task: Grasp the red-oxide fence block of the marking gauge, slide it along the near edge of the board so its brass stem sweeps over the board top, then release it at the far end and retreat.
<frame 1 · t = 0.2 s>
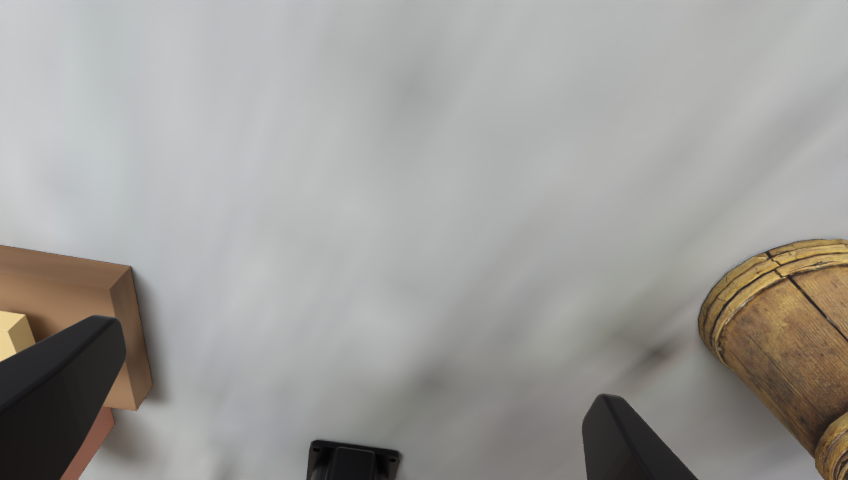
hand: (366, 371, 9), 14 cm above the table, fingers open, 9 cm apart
gauge: (83, 402, 33), on the table
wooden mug: (824, 300, 26), on the table
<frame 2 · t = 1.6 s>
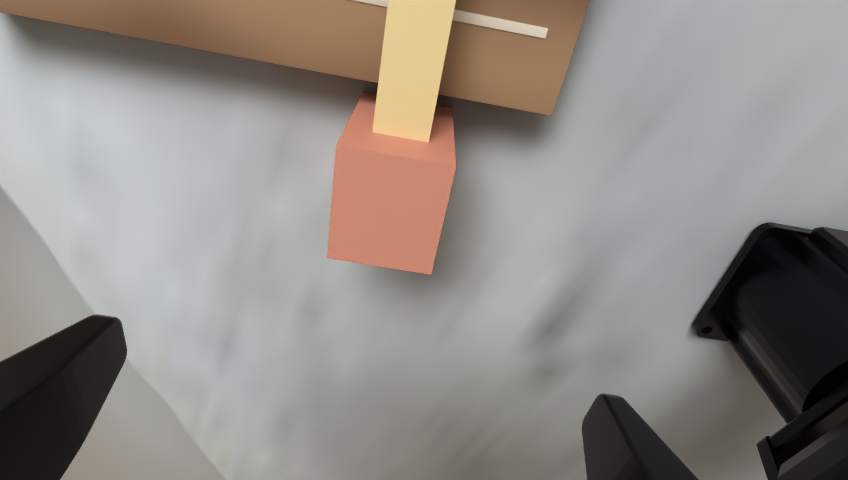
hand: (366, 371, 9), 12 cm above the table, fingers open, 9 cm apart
gauge: (400, 148, 19), on the table
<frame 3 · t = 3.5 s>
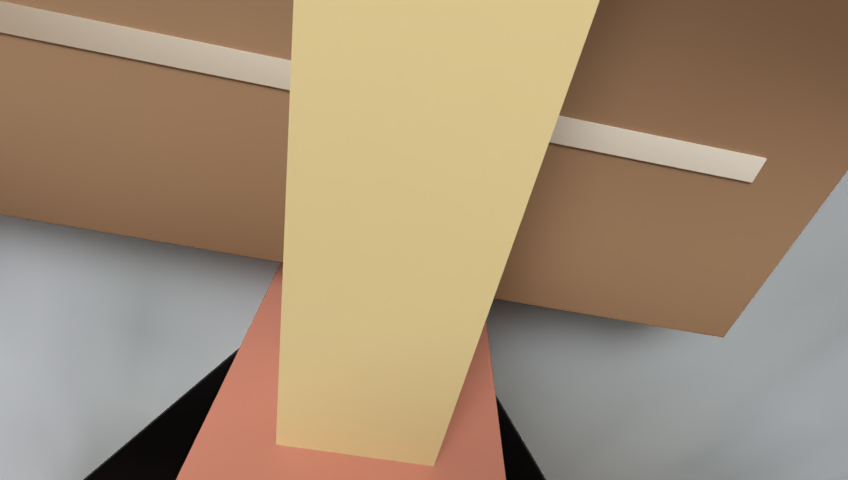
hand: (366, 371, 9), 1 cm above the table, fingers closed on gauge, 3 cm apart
gauge: (373, 333, 10), on the table, touching gripper
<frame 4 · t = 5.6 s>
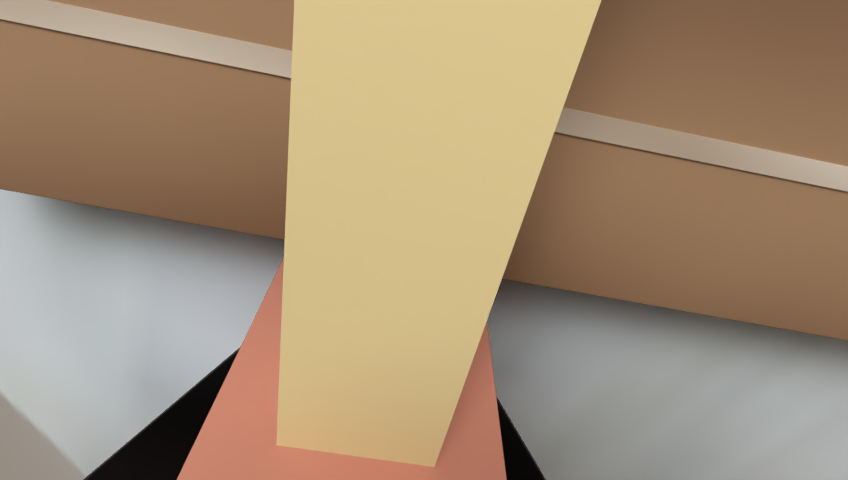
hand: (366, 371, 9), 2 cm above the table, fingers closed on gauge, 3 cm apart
gauge: (373, 333, 10), point 1 cm above the table, touching gripper
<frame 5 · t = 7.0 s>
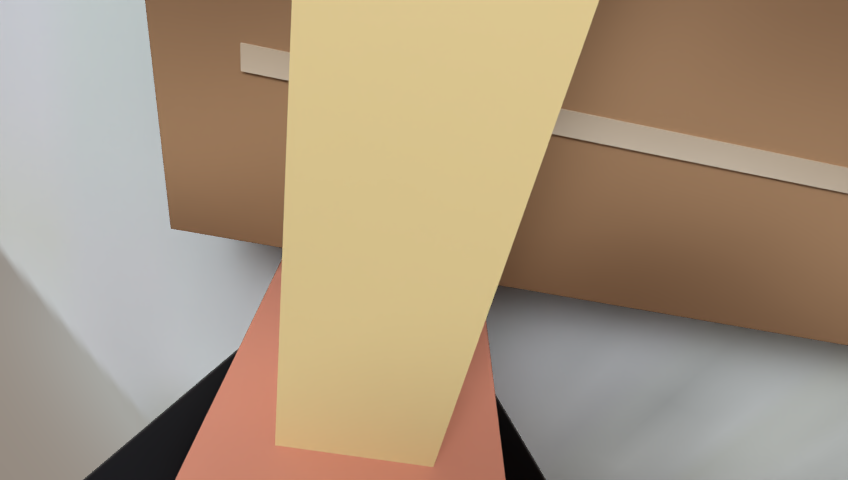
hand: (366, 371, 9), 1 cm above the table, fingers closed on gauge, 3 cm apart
gauge: (373, 333, 10), on the table, touching gripper
when the fingers open (1 cm above the table, at t = 7.6 s): gauge stays where it is, on the table.
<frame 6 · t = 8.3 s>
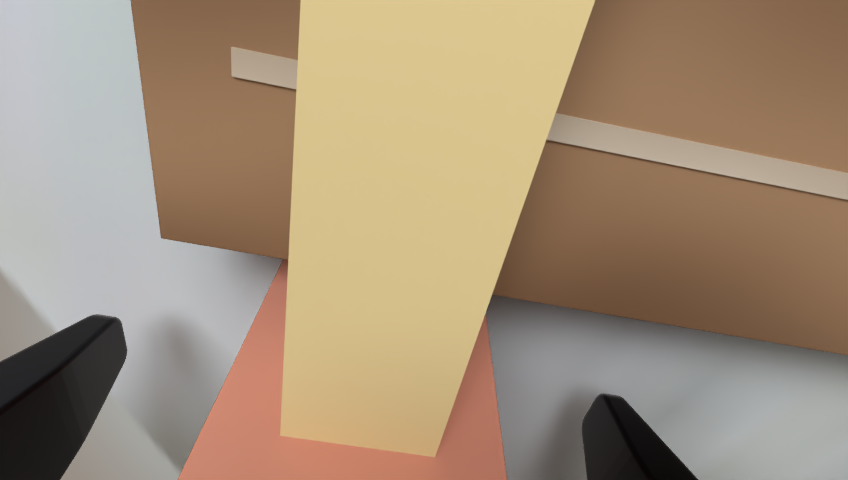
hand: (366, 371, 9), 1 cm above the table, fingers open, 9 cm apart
gauge: (374, 329, 10), on the table
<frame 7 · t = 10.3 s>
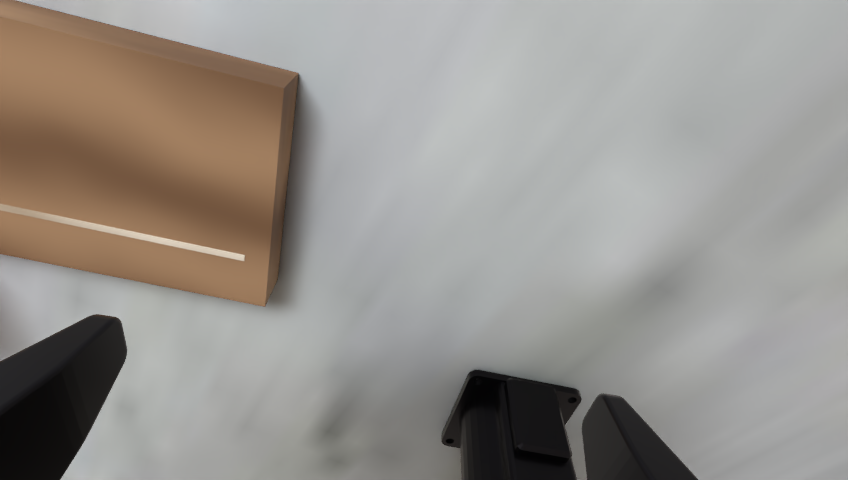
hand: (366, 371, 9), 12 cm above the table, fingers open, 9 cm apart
board: (38, 133, 19), on the table
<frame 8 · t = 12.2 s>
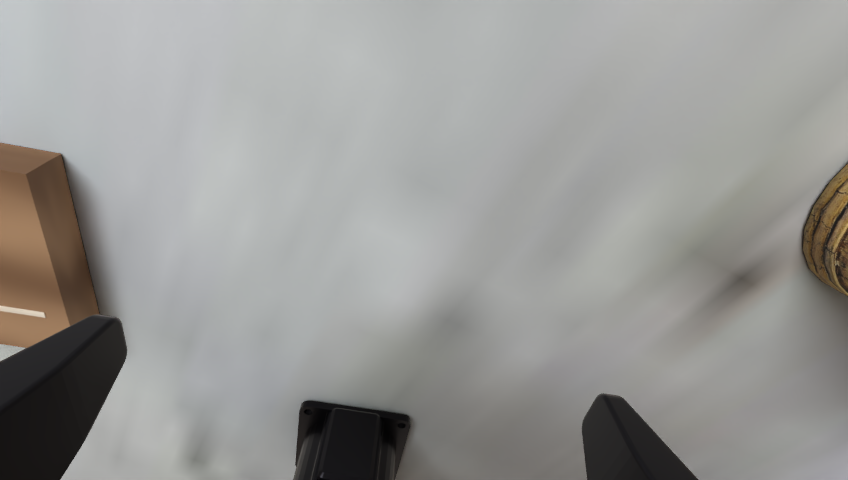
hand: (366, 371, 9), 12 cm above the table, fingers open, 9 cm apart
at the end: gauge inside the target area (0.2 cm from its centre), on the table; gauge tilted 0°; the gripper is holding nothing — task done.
